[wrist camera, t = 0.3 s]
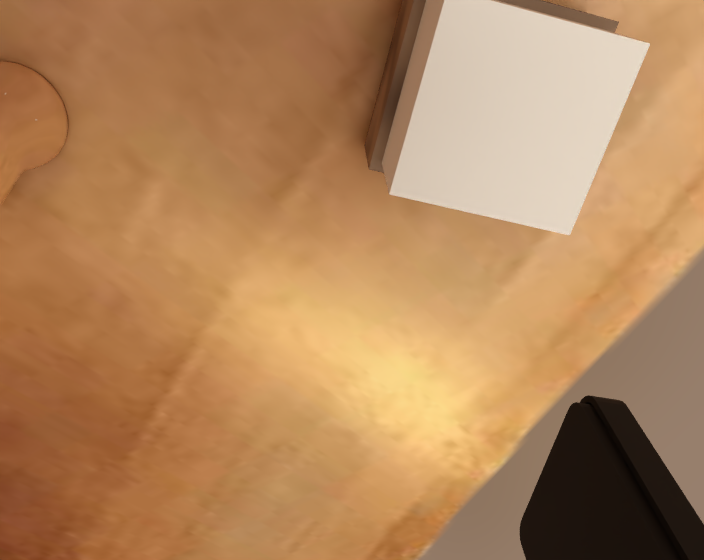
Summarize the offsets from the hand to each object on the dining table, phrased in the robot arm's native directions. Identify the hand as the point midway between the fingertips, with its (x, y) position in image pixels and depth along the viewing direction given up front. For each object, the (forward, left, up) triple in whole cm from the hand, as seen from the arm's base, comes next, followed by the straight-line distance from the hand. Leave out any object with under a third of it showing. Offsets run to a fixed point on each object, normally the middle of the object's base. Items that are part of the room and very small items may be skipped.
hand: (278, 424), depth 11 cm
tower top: (-2, +9, -26) cm, 27 cm away
